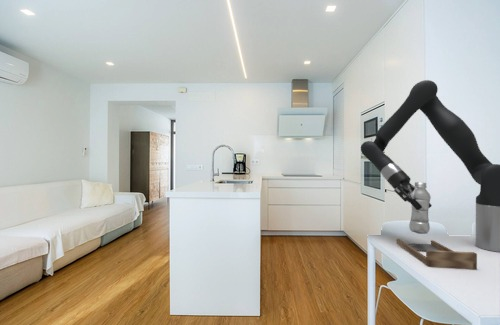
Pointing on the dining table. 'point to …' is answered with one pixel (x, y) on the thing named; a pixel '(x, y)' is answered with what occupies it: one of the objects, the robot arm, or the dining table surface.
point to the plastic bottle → (420, 210)
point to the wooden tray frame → (440, 255)
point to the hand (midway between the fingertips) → (424, 207)
